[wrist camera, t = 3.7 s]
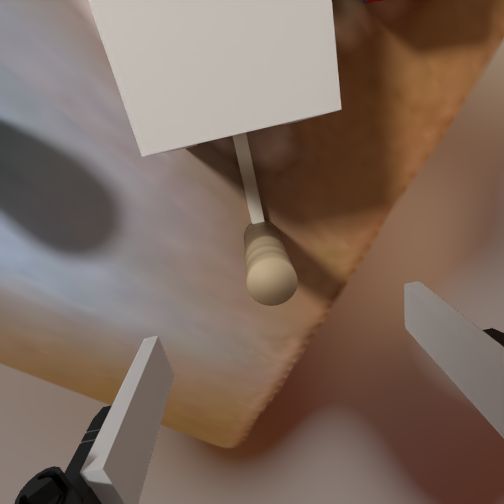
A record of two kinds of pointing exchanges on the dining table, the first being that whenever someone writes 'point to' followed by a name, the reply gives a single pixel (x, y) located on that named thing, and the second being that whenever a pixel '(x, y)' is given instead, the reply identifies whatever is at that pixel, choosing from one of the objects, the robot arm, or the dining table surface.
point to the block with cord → (263, 242)
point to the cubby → (218, 66)
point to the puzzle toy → (370, 1)
